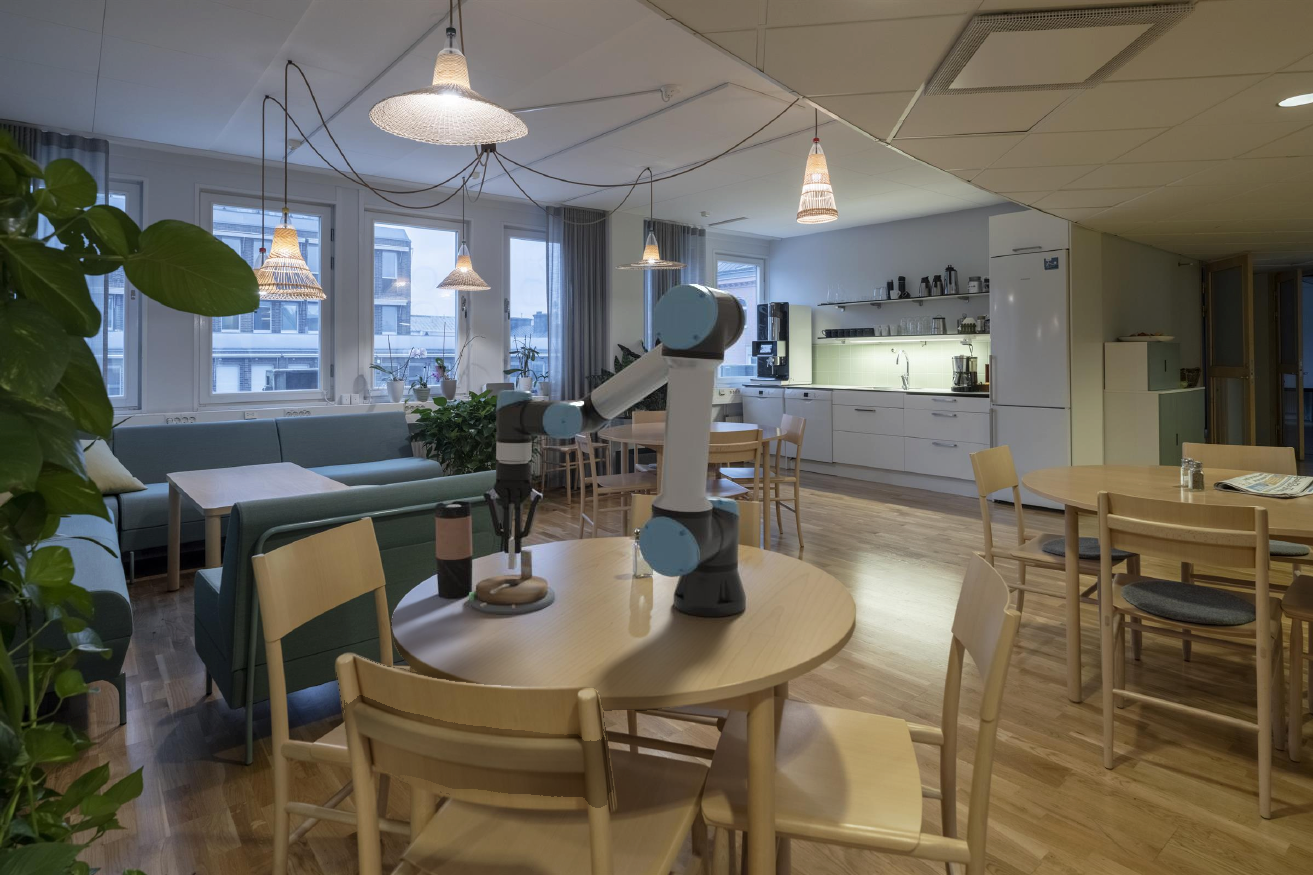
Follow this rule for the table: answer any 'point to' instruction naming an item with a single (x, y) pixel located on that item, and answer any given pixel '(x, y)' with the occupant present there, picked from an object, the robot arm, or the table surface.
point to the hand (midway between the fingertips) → (512, 567)
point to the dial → (513, 586)
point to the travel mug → (454, 549)
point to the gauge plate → (511, 609)
